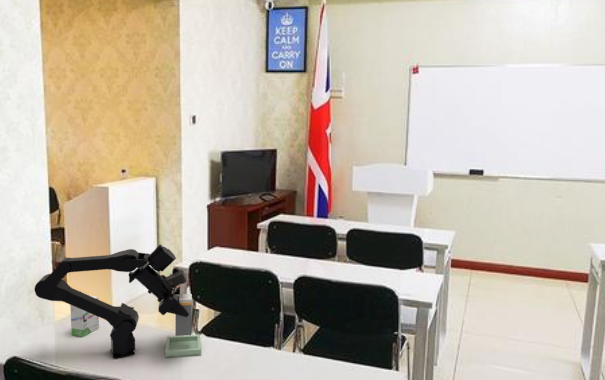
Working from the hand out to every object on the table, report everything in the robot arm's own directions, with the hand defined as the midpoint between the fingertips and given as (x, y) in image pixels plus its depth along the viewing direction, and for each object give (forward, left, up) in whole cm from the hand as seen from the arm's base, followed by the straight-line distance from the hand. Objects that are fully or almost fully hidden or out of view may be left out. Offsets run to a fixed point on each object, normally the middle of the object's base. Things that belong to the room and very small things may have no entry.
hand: (188, 312), depth 165 cm
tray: (-1, +1, -12) cm, 13 cm away
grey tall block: (-1, 0, -7) cm, 7 cm away
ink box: (-27, +29, -13) cm, 42 cm away
